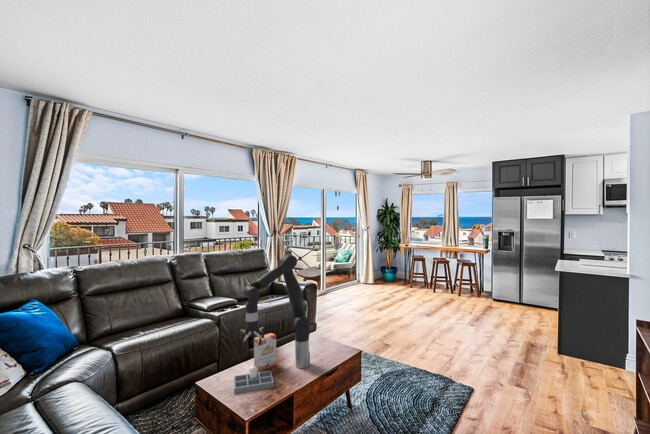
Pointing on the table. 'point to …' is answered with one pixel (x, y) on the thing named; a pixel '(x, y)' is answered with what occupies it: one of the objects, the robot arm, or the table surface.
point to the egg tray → (253, 382)
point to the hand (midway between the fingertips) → (252, 345)
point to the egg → (252, 372)
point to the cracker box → (265, 352)
